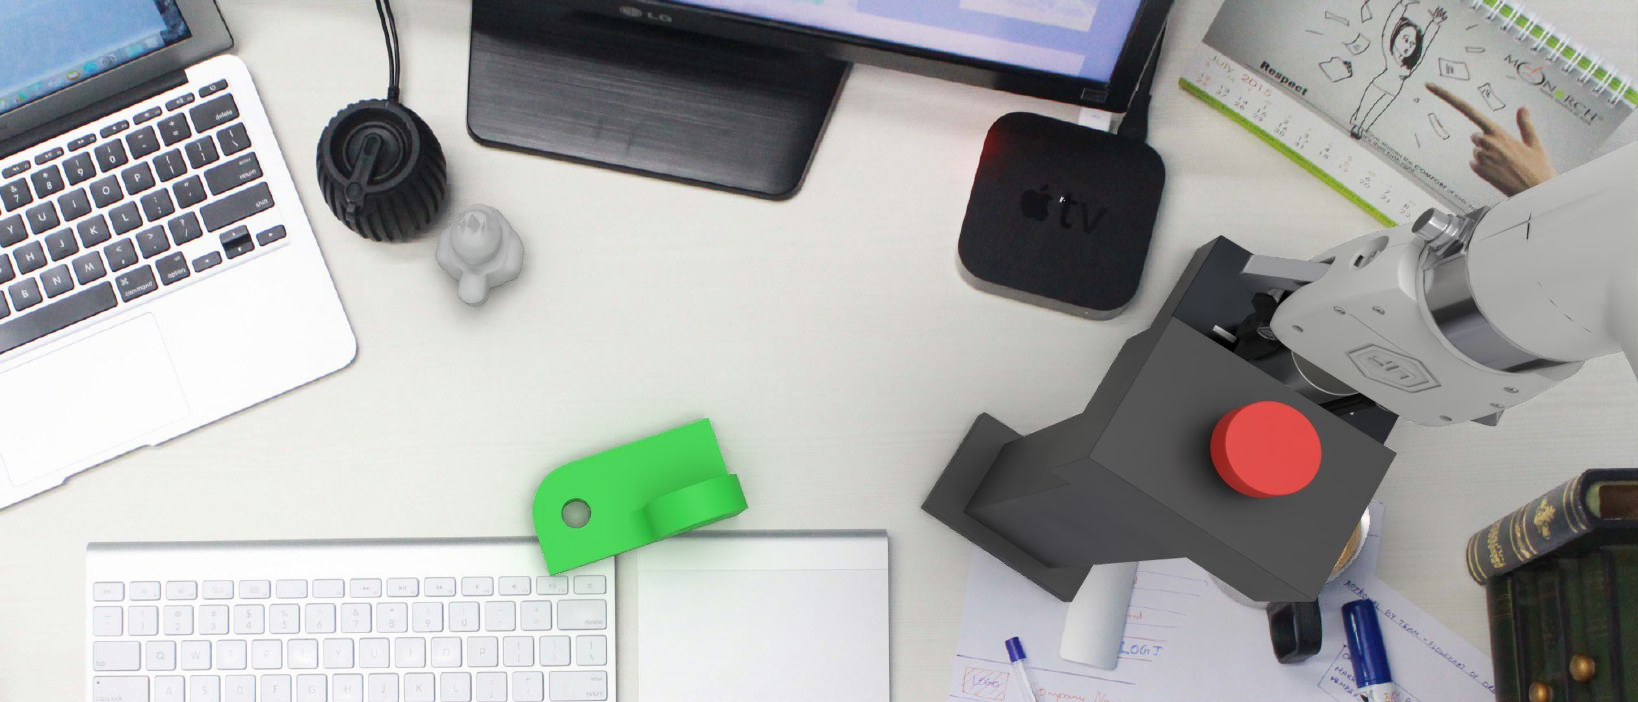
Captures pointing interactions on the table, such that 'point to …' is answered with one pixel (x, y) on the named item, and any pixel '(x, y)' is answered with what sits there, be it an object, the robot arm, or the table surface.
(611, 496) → the mechanical part
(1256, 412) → the button
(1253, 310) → the dial panel
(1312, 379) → the dial
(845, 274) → the table surface
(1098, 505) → the button stand
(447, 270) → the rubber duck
